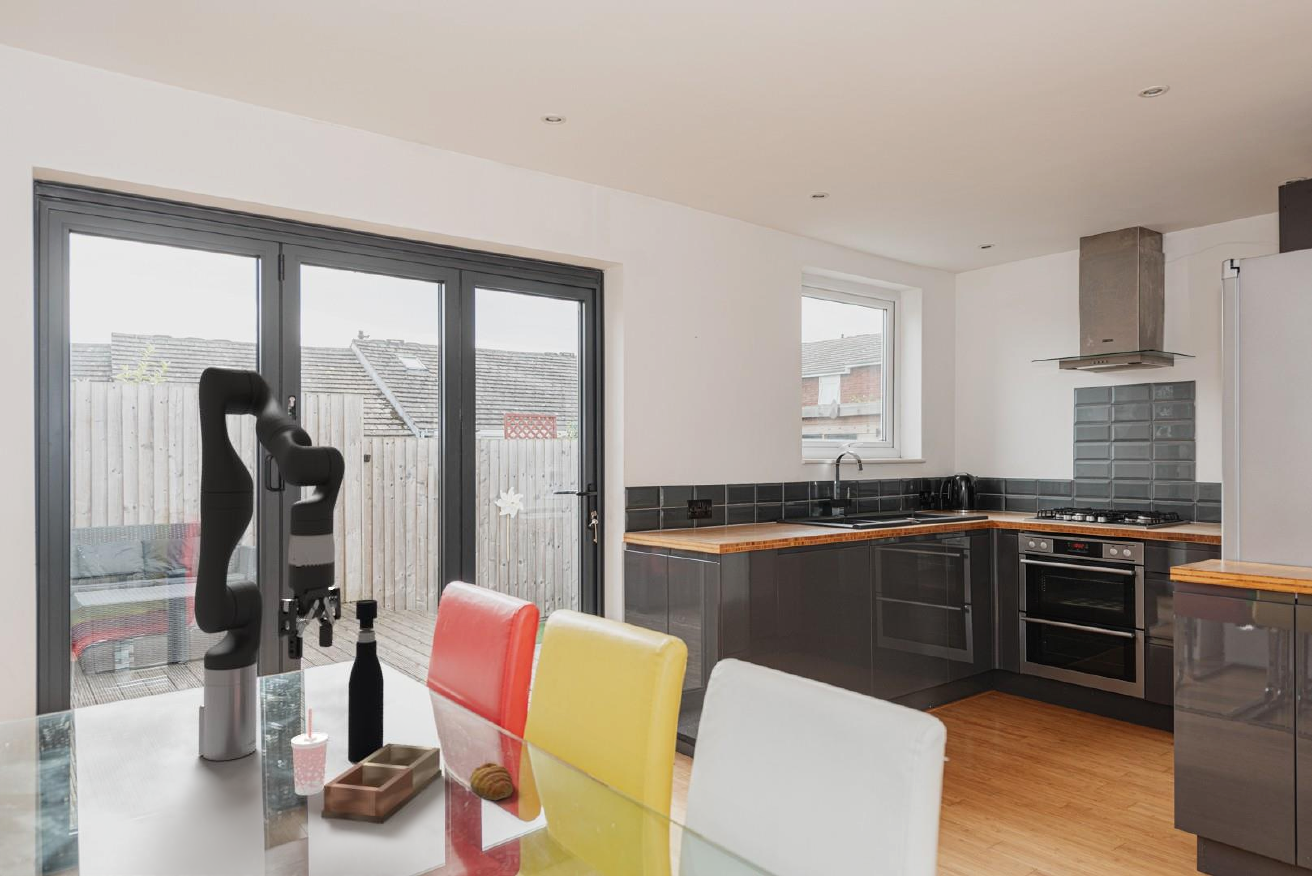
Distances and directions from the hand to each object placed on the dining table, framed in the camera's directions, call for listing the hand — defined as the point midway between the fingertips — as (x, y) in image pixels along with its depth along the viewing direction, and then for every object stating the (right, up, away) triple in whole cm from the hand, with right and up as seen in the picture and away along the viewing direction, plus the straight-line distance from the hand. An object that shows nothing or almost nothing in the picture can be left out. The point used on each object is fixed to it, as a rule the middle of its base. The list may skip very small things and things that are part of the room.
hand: (311, 652), depth 145 cm
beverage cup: (0, -24, 0) cm, 24 cm away
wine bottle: (+4, -24, +15) cm, 29 cm away
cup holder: (+14, -24, -2) cm, 28 cm away
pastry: (+32, -24, 0) cm, 40 cm away
